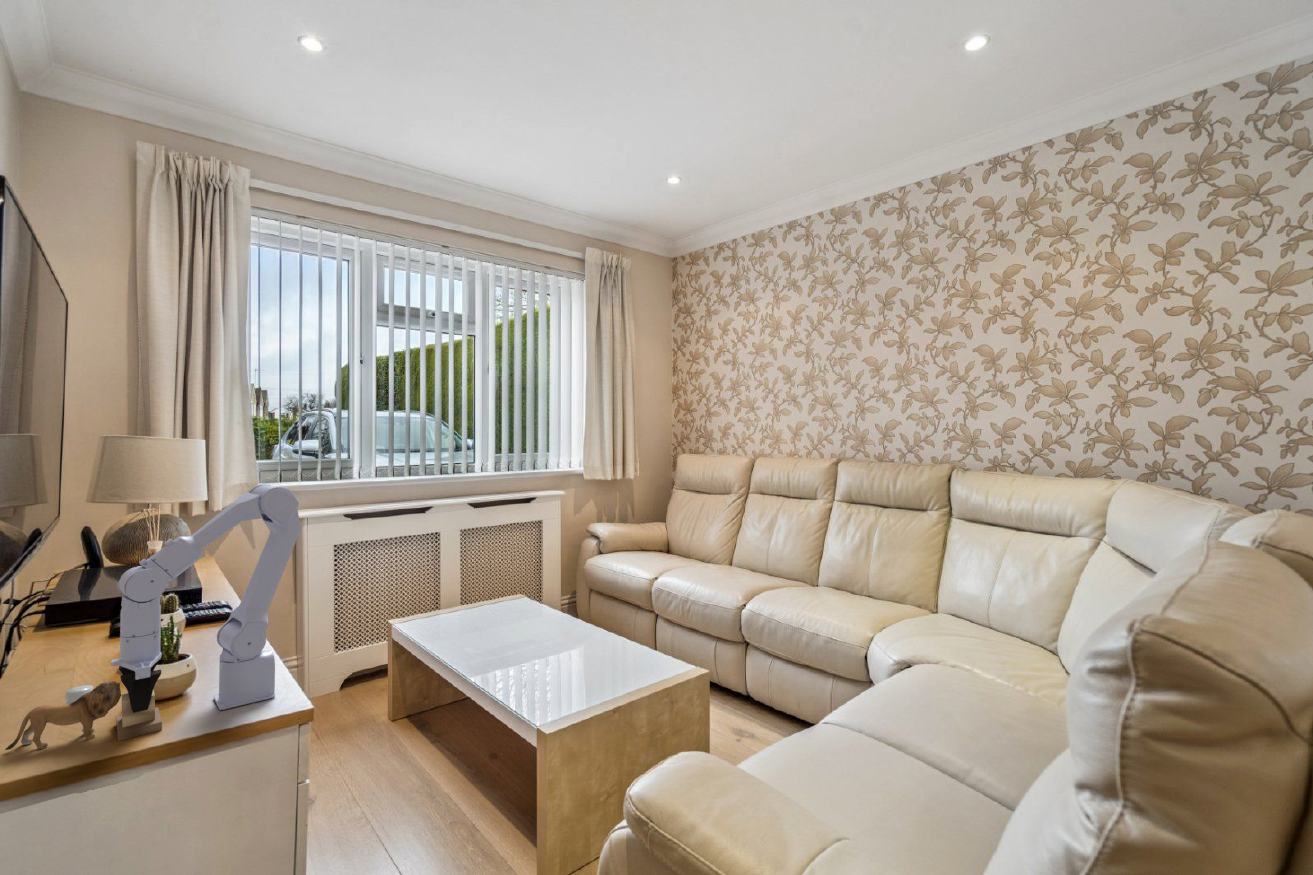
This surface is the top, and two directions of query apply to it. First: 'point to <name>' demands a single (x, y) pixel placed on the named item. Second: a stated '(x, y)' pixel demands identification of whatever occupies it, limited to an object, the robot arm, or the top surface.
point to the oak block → (137, 717)
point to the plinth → (138, 727)
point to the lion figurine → (70, 714)
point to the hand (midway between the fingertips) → (139, 706)
